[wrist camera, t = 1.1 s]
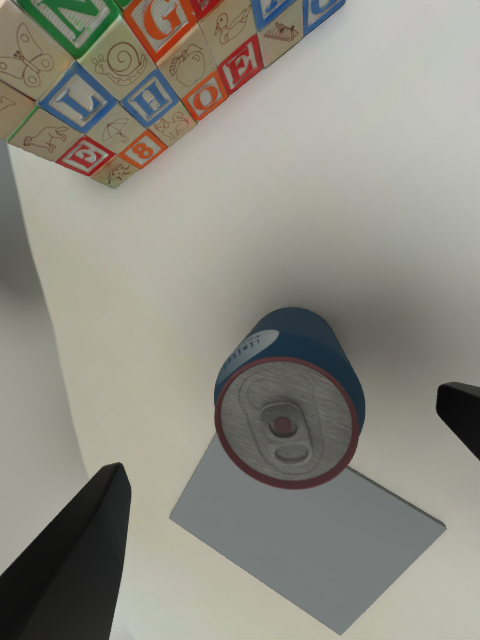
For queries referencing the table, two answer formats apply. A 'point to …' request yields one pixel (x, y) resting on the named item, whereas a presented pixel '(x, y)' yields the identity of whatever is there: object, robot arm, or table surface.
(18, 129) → the stack of blocks
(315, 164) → the table surface
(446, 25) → the table surface
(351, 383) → the soda can
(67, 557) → the robot arm
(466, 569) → the table surface
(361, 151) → the table surface
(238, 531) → the desk mat
